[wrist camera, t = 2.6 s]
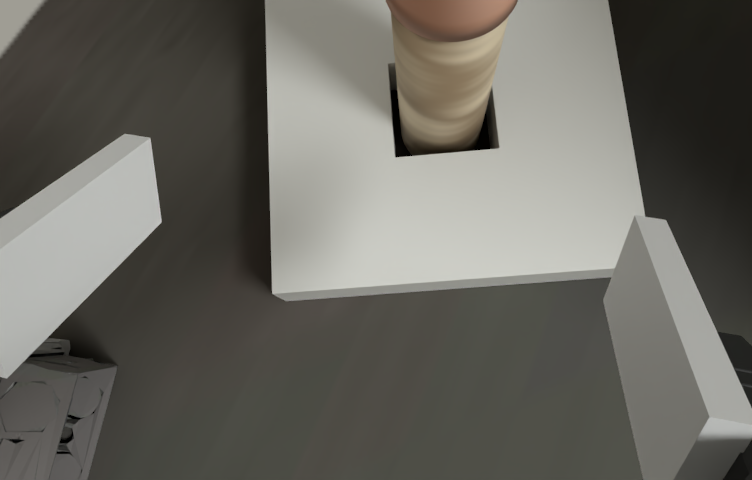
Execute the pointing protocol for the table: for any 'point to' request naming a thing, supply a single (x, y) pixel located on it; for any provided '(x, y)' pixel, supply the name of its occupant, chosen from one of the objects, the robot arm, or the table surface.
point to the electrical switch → (52, 414)
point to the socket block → (444, 158)
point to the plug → (445, 69)
